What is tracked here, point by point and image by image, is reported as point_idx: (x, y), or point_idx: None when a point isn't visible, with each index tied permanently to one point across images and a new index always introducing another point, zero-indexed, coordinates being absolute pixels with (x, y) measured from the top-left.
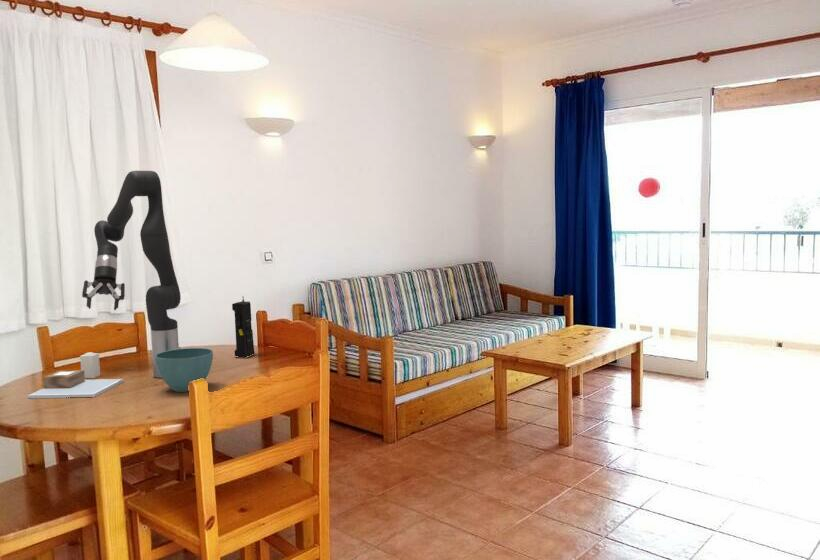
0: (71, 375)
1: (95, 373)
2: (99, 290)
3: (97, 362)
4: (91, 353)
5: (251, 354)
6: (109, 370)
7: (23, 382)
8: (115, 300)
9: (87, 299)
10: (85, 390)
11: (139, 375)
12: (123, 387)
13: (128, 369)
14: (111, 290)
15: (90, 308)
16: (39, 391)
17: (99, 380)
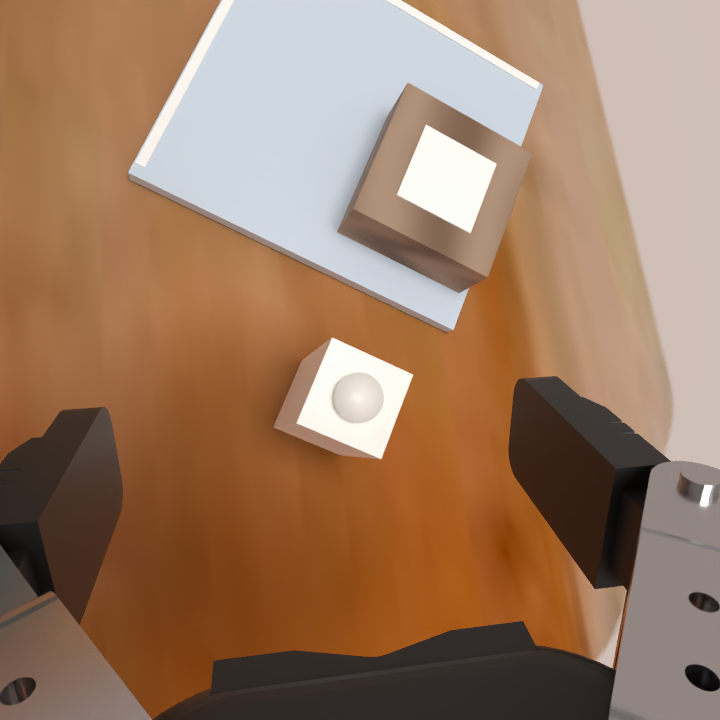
0: (401, 103)
1: (297, 377)
2: (550, 669)
3: (295, 402)
4: (343, 377)
5: None
6: (227, 563)
7: None
8: (32, 494)
9: (661, 458)
10: (310, 22)
11: (29, 308)
12: (126, 47)
13: None
14: (74, 679)
15: (509, 444)
16: (510, 131)
17: (261, 211)
